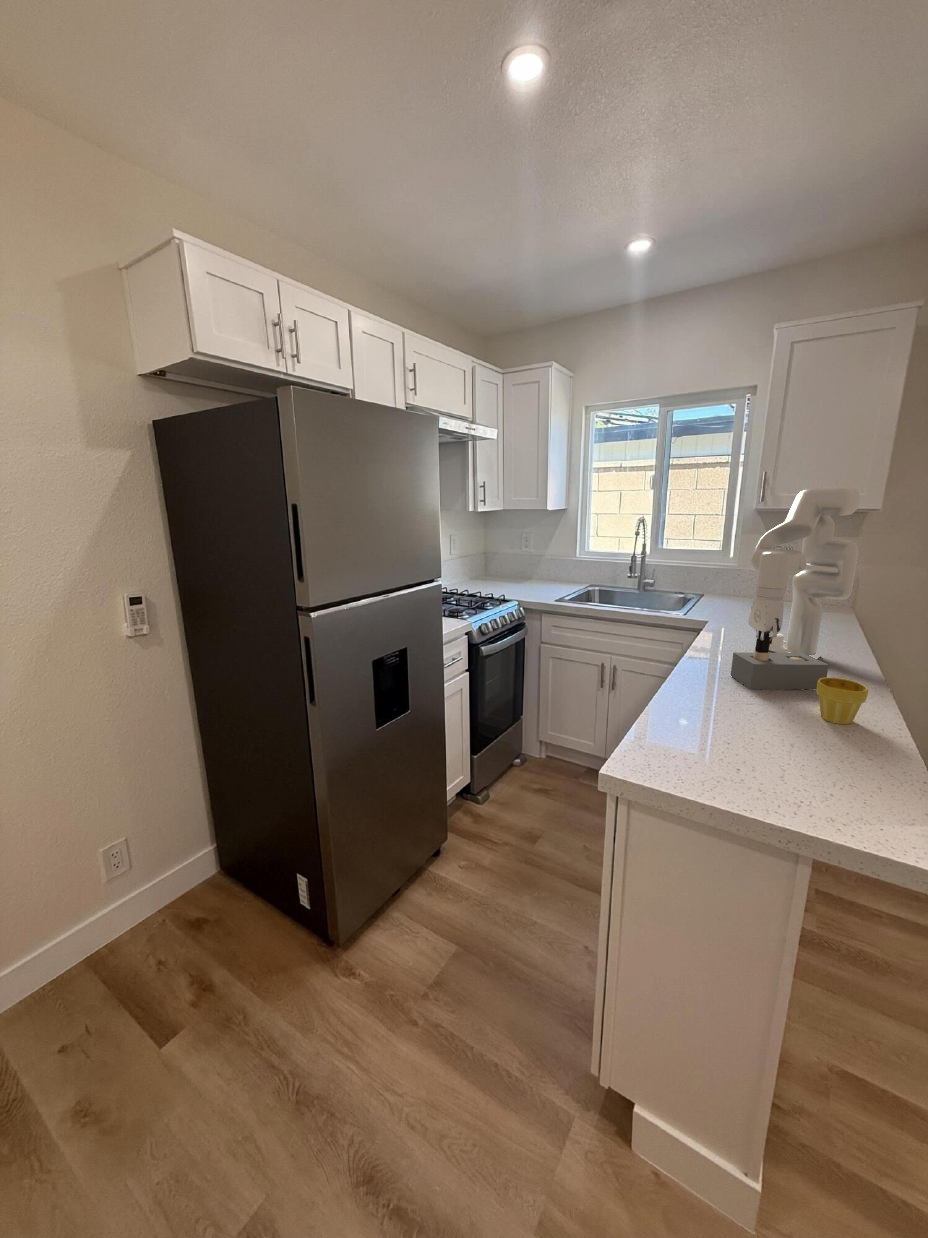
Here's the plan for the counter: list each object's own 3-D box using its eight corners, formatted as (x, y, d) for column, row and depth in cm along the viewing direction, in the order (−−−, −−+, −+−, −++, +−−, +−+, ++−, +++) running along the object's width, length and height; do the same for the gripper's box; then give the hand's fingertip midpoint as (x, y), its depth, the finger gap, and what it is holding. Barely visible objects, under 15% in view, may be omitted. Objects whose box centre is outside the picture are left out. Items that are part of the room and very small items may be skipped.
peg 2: (783, 678, 156) (786, 657, 155) (796, 678, 156) (799, 657, 155) (791, 682, 153) (794, 661, 151) (804, 682, 152) (808, 661, 151)
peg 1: (749, 671, 156) (751, 649, 155) (761, 671, 156) (764, 650, 155) (755, 675, 152) (758, 653, 151) (769, 675, 152) (772, 653, 151)
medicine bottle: (752, 665, 172) (757, 631, 169) (765, 662, 175) (770, 629, 172) (772, 671, 166) (777, 636, 163) (786, 668, 169) (791, 634, 166)
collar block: (730, 676, 161) (733, 652, 159) (799, 676, 160) (803, 653, 159) (750, 689, 149) (753, 664, 147) (824, 690, 149) (828, 664, 147)
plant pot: (837, 729, 123) (844, 692, 120) (802, 713, 132) (808, 678, 130) (872, 726, 125) (879, 689, 122) (834, 709, 134) (840, 675, 132)
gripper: (744, 589, 156) (737, 645, 160) (771, 597, 141) (762, 659, 145) (768, 589, 156) (760, 645, 160) (798, 597, 141) (788, 659, 145)
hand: (761, 651), depth 153 cm, fingers closed
